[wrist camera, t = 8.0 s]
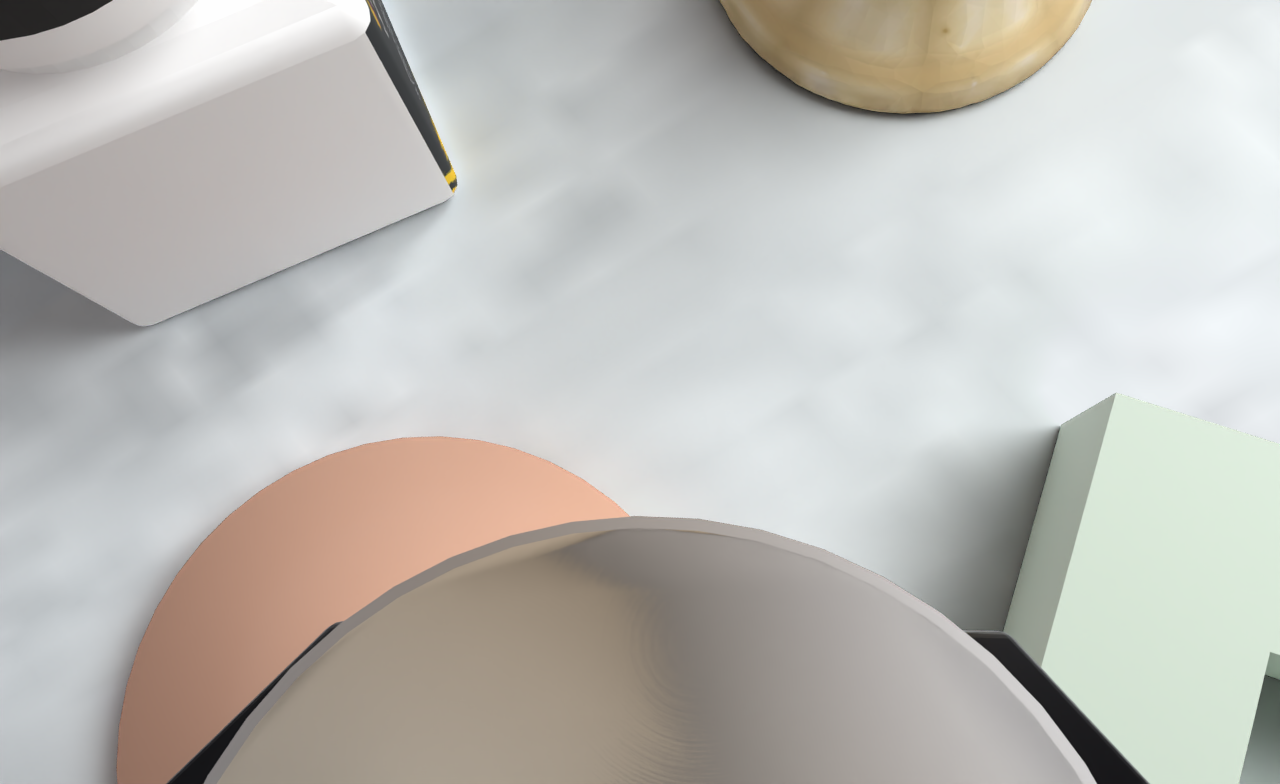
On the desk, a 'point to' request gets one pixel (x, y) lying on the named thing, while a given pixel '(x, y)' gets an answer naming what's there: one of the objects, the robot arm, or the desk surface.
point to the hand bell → (906, 46)
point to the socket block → (1157, 584)
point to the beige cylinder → (648, 674)
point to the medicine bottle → (203, 142)
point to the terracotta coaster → (320, 574)
